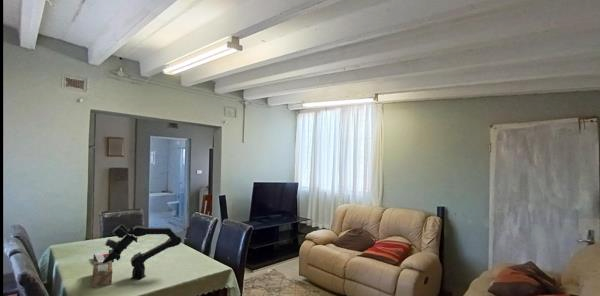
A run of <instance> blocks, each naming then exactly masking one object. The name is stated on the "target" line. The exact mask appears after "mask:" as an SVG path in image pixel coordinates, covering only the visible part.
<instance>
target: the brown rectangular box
mask: <svg viewBox="0 0 600 296" xmlns="http://www.w3.org/2000/svg"><path fill="white" fill-rule="evenodd" d="M112 282H113V262H112V260H111V261H109V262H108V270H107V271H99V272H98V262H95V261H94V262H93V266H92V280H91V288H97V287H104V286H110V285H113V284H112Z"/></svg>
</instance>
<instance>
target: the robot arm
mask: <svg viewBox="0 0 600 296" xmlns="http://www.w3.org/2000/svg"><path fill="white" fill-rule="evenodd" d="M111 232H112V233H113V235H114V236H116V237H117V238H118V239H120V240H118V241H116V240H112V239H111V238H108V239H107V240H106V242H105V246H106V247H109V248H110V249H108V252H109V254H108V255H107V257H106V258H105V259H104V261H103V263H106V262H109V261H111V260H114V261H115V260H116V261H117V262H118V261H120V259H121V254H122V252H124V250H127V249H128V247H129V246H130V245H131V244H132V243H133V242H136V243H138V240H139V239H138V238H139V237H143V236H147V235H167V236H168V237H169V238H168V239H167V240H166V241H164V242H162V243H161V244H159V245H157V246H155V247H153V248H151V249H150V250H148V251H145V252H143V253H141V251H139V252H137V253H136V254H133V256H132V257H131V258H130V264H131V267H132V273H131V277H130V279H133V280H142V279H144V278H145V277H147V274H146V275H145V273H146V272H145V270H146V266H145V262H146V261H147V260H149V259H151V258H153V257H154V256H155V255H158V254H160V253H162V252H164V251H165V250H167V249H169V248H173V247H177V246H179V245H180V244H181V243H182V238H181V236H179V235H178V234H176V233H174V231H172V228H171V227H146V226H142V225H135V226H134V227H130V228H126V227H125V226H124V224H120V225H118V226H117V227H115V229H113V231H111Z"/></svg>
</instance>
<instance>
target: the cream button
mask: <svg viewBox="0 0 600 296" xmlns="http://www.w3.org/2000/svg"><path fill="white" fill-rule="evenodd" d="M107 270H108V264H105V265H98V272H99V271H107Z"/></svg>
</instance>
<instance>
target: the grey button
mask: <svg viewBox="0 0 600 296" xmlns="http://www.w3.org/2000/svg"><path fill="white" fill-rule="evenodd" d="M103 261H104V259H102V260H98V265H105V264H108V262H106V263H103Z"/></svg>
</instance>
